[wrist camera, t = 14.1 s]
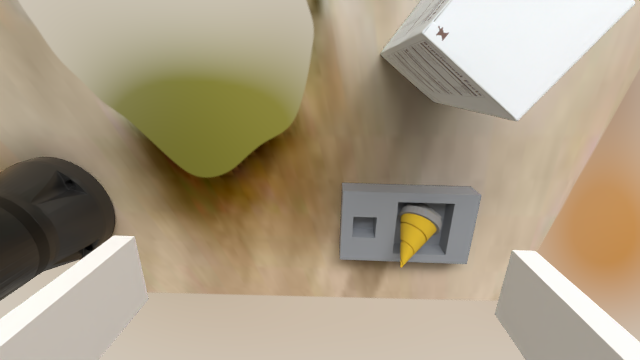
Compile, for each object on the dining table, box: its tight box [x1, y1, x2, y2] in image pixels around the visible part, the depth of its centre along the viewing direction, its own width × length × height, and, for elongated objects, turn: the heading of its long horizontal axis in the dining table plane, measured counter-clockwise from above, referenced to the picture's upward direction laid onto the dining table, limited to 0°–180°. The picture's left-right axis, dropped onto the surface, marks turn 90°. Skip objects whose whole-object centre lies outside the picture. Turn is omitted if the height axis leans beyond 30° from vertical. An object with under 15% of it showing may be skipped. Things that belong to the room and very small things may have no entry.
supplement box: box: [381, 0, 635, 121], centre depth 26 cm, size 10×9×17 cm
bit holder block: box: [339, 183, 481, 264], centre depth 40 cm, size 17×10×3 cm, turn 89°
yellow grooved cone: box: [398, 202, 442, 267], centre depth 38 cm, size 5×5×10 cm
